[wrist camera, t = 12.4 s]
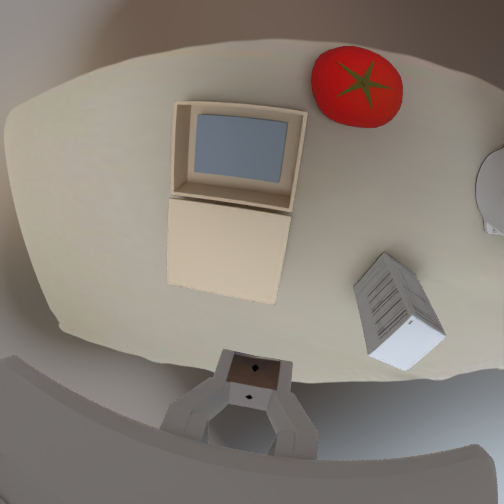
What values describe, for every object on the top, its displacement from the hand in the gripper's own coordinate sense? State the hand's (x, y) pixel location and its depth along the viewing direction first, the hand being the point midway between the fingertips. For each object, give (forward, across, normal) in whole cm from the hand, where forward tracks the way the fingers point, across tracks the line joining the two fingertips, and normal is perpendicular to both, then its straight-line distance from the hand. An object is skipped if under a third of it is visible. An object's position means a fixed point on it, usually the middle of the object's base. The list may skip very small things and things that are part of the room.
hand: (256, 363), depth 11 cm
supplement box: (+35, -21, +16) cm, 44 cm away
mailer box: (+35, +8, -3) cm, 36 cm away
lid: (+28, +8, +11) cm, 31 cm away
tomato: (+35, -7, -15) cm, 39 cm away
